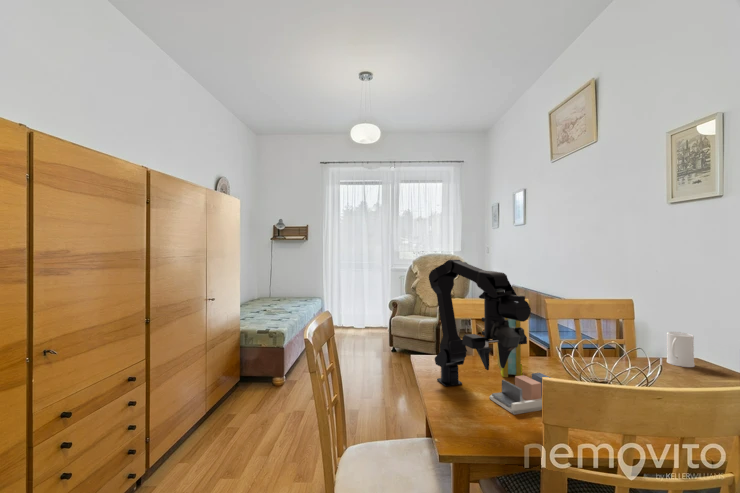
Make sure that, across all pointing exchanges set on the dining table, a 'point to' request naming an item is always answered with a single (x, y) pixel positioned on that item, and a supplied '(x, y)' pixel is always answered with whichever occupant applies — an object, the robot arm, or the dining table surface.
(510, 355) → the book
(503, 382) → the bookend
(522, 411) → the shelf
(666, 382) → the dining table surface
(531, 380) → the book block
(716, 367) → the dining table surface
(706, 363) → the dining table surface
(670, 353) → the mug
